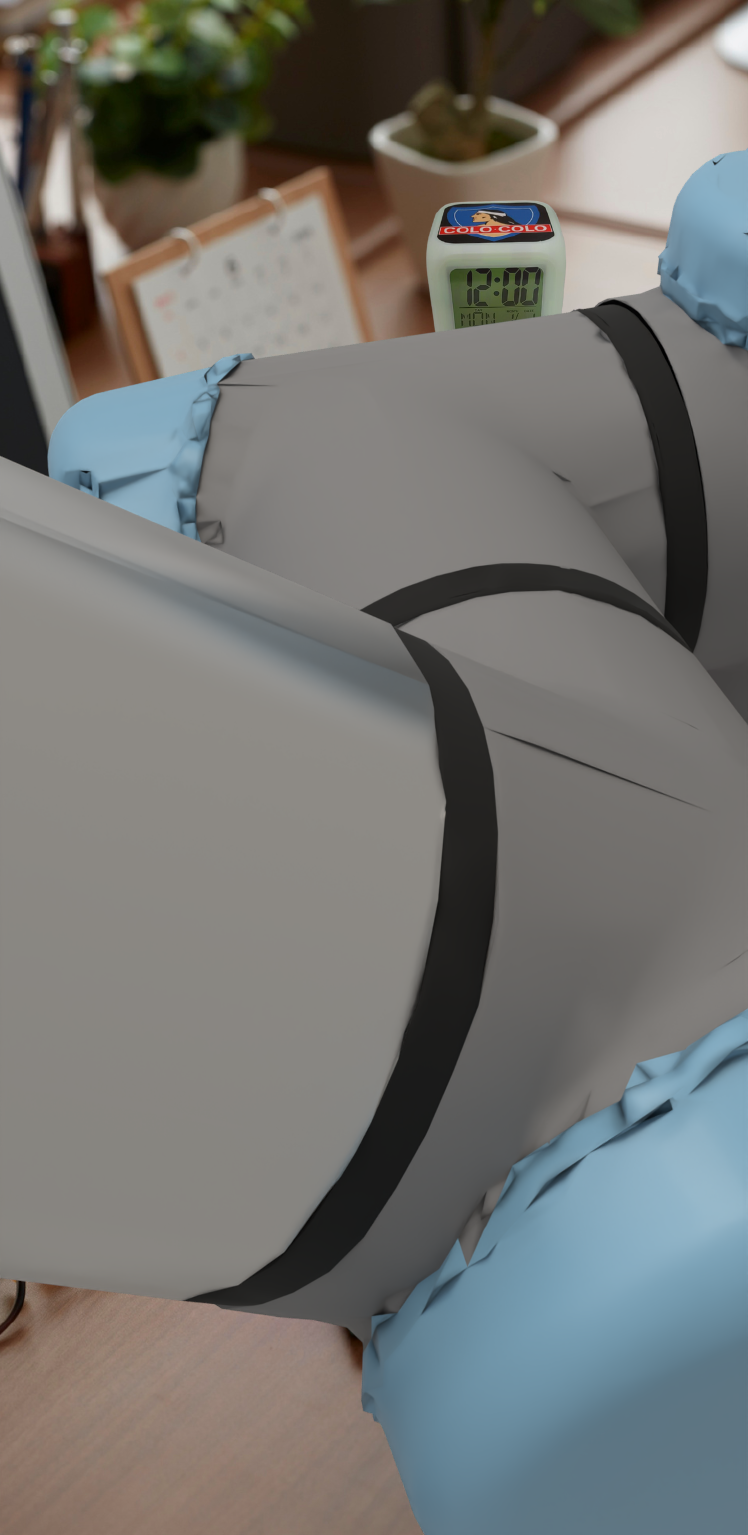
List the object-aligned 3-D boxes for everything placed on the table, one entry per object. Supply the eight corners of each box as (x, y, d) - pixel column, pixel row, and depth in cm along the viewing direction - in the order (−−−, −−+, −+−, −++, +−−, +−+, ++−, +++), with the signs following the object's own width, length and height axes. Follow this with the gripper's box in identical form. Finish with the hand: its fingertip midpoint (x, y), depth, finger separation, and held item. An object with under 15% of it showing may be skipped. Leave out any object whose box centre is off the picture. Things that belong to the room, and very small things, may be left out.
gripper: (1118, 850, 33) (934, 1358, 48) (658, 650, 41) (622, 1144, 56) (966, 1040, 29) (817, 1528, 44) (487, 781, 37) (498, 1274, 52)
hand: (709, 1314), depth 50 cm, fingers closed
